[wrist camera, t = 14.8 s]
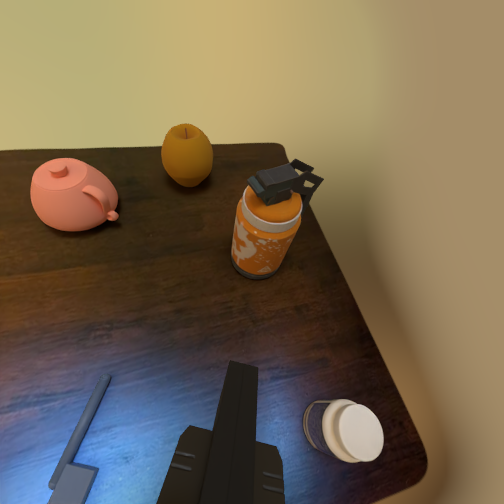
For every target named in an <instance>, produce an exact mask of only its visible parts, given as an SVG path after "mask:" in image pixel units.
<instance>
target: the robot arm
mask: <svg viewBox="0 0 504 504" xmlns="http://www.w3.org/2000/svg"><path fill="white" fill-rule="evenodd" d="M257 389H258V367H254V366H250V365H246V364H243V363H239V362H235V361H231V360H230V362H229V366H228V370H227V373H226V377H225V381H224V385H223V389H222V392H221V396H220V400H219V404H218V408H217V413H216V417H215V422H214V426H213V430H212V431H210V430H207V429H203V428H199V427H195V426H191V425H189V427H188V428H187V429H186V430H185V431H184V432H183V434H182V435H181V436H180V438H179V441H178V444H177V447H176V450H175V453H174V455H173V458H172V461H171V464H170V466H169V469H168V472H167V475H166V478H165V481H164V483H163V486H162V489H161V492H160V495H159V497H158V500H157V503H156V504H285V494H284V480H283V464H282V459H281V457H280V454H279V452H278V449H277V447H276V446H273V445H269V444H265V443H261V442H257V441H256V416H257Z"/></svg>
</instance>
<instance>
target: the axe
mask: <svg viewBox="0 0 504 504" xmlns="http://www.w3.org/2000/svg"><path fill="white" fill-rule="evenodd" d="M109 381H110V376H109V375H108V374H104V375H102V376H101V377H100V379H99V381H98V383H97V385H96V387H95V389H94V391H93V393H92V395H91V397H90V399H89V401H88V403H87V405H86V408H85V410H84V412H83V414H82V416H81V418H80V420H79V422H78V424H77V426H76V428H75V430H74V432H73V434H72V436H71V438H70V440H69V442H68V444H67V446H66V448H65V450H64V452H63V455H62V457H61V459H60V461H59V463H58V465H57V467H56V469H55V471H54V473H53V475H52V477H51V479H50V481H49V485H48V486H49V488H50V489H51V490H54V491H53V493H52V495H51V497H50V500H49V502H48V504H85V501H86V499H87V496H88V494H89V492H90V489H91V487H92V484H93V482H94V480H95V477H96V475H97V472H98V470H99V468H95V467H91V466H87V465H83V464H79V463H75V462H72V460H73V458H74V456H75V454H76V451H77V449H78V447H79V445H80V443H81V441H82V439H83V436H84V434H85V432H86V430H87V428H88V426H89V424H90V421H91V419H92V417H93V415H94V413H95V411H96V409H97V406H98V404H99V402H100V400H101V398H102V396H103V394H104V392H105V389H106V387H107V385H108V383H109Z"/></svg>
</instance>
